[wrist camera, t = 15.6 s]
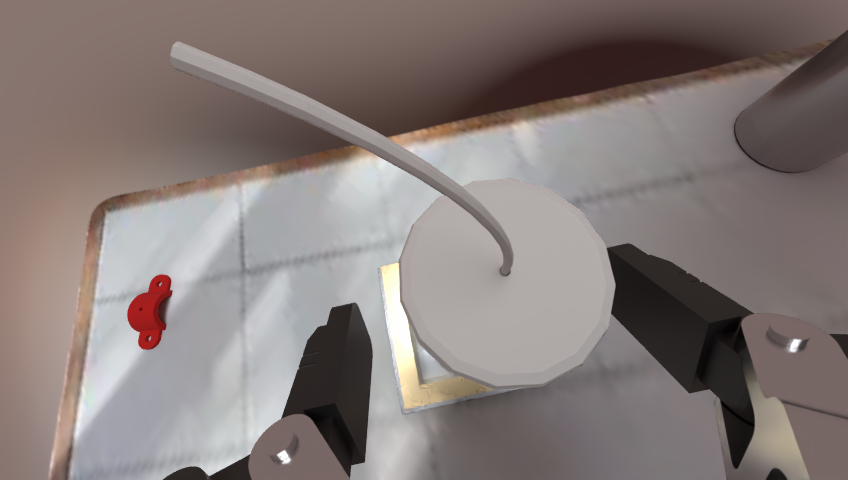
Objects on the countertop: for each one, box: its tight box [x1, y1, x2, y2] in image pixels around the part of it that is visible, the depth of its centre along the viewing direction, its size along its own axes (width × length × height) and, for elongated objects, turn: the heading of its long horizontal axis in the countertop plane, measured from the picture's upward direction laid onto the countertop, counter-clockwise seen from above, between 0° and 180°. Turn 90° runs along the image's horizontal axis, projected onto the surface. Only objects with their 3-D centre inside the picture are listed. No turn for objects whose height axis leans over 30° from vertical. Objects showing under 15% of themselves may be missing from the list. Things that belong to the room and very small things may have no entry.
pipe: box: [170, 41, 616, 390], centre depth 16 cm, size 6×6×30 cm
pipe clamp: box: [127, 275, 173, 349], centre depth 33 cm, size 8×3×2 cm, turn 4°
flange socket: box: [378, 263, 521, 415], centre depth 29 cm, size 14×14×5 cm
